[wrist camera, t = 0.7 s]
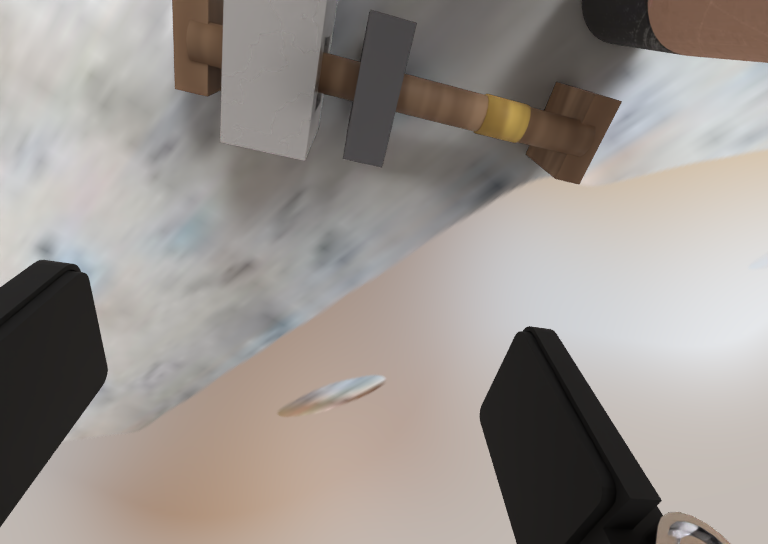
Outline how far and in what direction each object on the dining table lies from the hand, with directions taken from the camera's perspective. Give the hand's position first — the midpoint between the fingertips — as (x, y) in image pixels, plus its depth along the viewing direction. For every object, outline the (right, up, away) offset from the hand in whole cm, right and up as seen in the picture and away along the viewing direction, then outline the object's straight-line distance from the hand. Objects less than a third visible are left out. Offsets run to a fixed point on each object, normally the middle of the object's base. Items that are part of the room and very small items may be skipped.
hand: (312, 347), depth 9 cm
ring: (+1, +16, +21) cm, 26 cm away
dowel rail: (+3, +17, +23) cm, 28 cm away
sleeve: (-5, +17, +20) cm, 27 cm away
